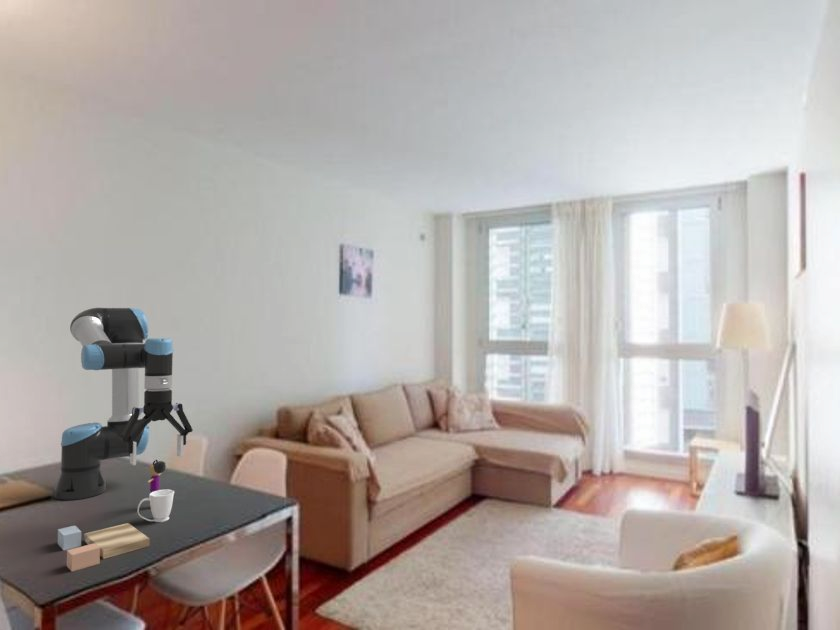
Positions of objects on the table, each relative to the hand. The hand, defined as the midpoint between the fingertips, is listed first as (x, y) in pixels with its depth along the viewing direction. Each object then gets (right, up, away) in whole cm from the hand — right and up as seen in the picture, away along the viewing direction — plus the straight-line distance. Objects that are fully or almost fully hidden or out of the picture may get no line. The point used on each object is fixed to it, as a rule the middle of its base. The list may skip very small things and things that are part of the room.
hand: (157, 460), depth 163 cm
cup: (0, -18, 0) cm, 18 cm away
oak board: (-2, -18, -17) cm, 25 cm away
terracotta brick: (-3, -18, -30) cm, 35 cm away
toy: (-6, -18, +12) cm, 22 cm away
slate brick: (-14, -18, -18) cm, 29 cm away
